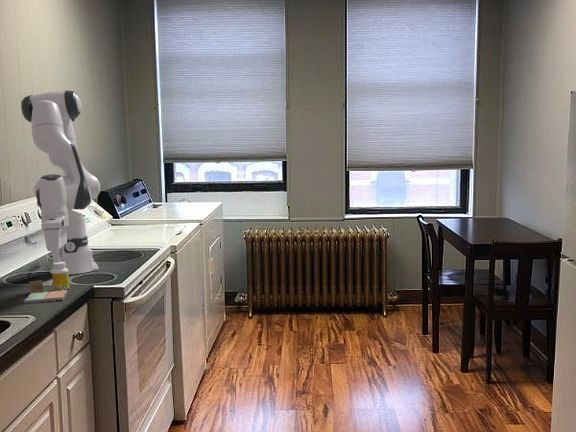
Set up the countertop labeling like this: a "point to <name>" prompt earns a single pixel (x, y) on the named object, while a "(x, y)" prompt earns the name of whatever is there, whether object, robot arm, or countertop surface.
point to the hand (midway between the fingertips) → (58, 260)
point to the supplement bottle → (60, 276)
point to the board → (46, 296)
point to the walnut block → (36, 286)
